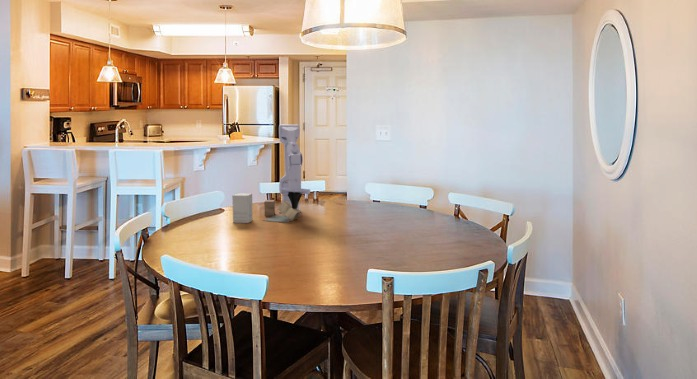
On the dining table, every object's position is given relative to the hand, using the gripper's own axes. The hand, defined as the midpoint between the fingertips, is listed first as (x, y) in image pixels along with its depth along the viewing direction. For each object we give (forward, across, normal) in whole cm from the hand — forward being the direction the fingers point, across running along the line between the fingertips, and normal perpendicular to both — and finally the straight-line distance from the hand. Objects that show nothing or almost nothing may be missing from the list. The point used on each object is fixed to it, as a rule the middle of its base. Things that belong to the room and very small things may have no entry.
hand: (294, 208), depth 231 cm
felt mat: (+6, -7, 0) cm, 9 cm away
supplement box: (+6, -21, -12) cm, 24 cm away
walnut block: (+6, -17, +7) cm, 19 cm away
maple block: (+4, +1, 0) cm, 4 cm away
